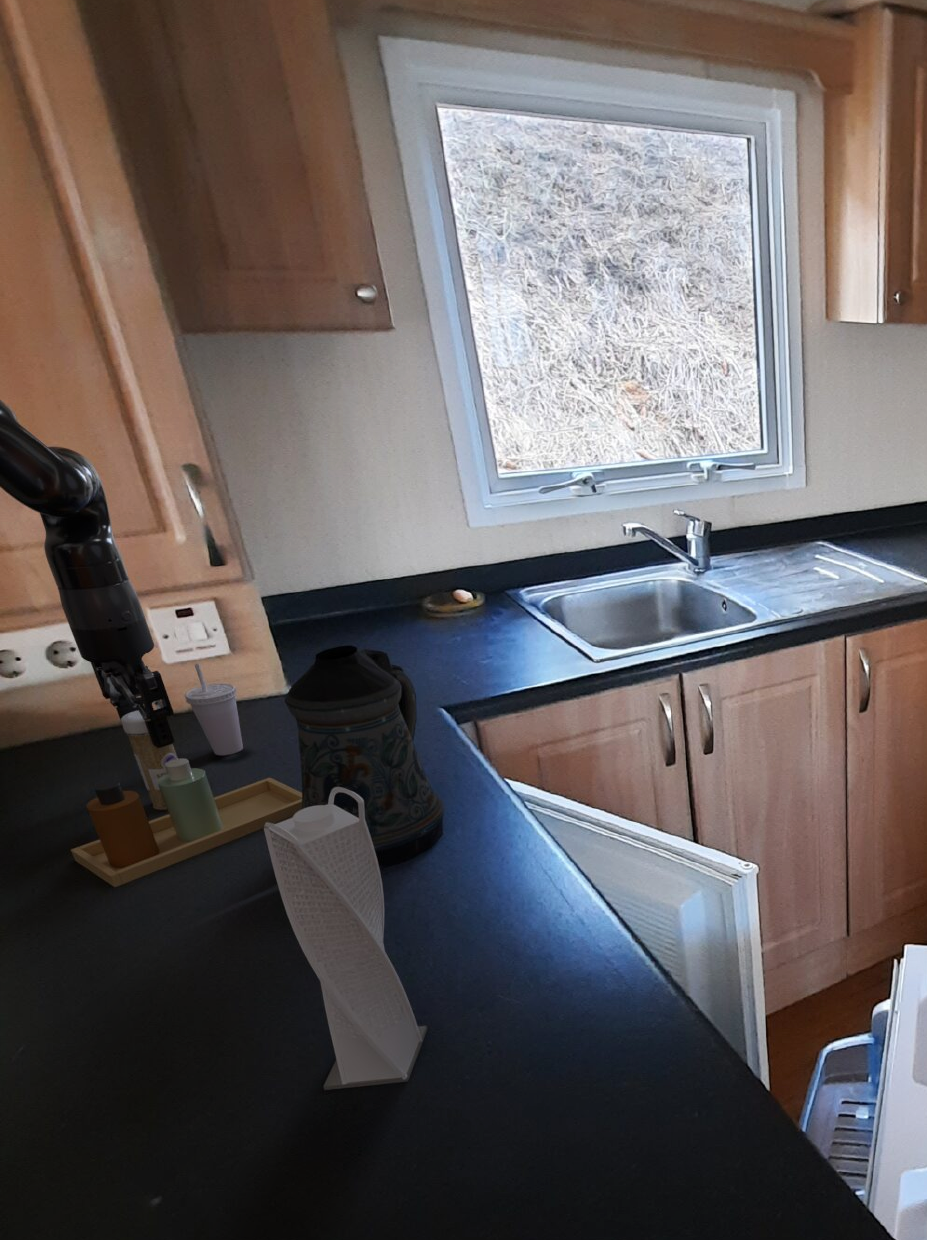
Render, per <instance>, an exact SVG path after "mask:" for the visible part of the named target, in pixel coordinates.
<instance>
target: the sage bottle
mask: <svg viewBox="0 0 927 1240" xmlns="http://www.w3.org/2000/svg"><path fill="white" fill-rule="evenodd" d="M165 767H166V770H167V772H168V774H166V775H164V776H162V777H161V778H159V780H158V785H159V788H160V791H161V794H162V796H163V799H164V802H165V805H166V807H167V809H166V810H167V813H168V814H169V816H170V818H171V821H172V824H173V827H174V829H175V832H176V835H177V838H178V839H179V840H180V841H184V842H192V841H195V840H197V839H200V838H202V837H205V836H207V835H210V834H213V833H215V832H218V831H220V830H223V828H224V826H223V823H222V820H221V817H220V814H219V811H218V808H217V805H216V802H215V799H214V798H215V796H214V794H213V790H212V788H211V784H210V782H209V779H208V776H207V773H206V770H204V769H202V768H197V767H191V765H190V762H189V760H188V758H185V757H184V758H183V757H181V758H178V759H174V760H171V761H169V762H167V763H166V764H165Z"/></svg>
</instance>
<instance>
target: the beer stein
mask: <svg viewBox="0 0 927 1240" xmlns="http://www.w3.org/2000/svg"><path fill="white" fill-rule="evenodd" d="M284 703H285V705H286V706H287V708H288V710H289V712H290V714H291V715H292V716H293V717H294V718H295V720H296V726H297V735H298V749H299V758H300V759H299V760H300V774H301V793H302V809H304V808H307V807H311V806H318V805H327V804H328V800H329V796H330V793H331V790H332V789H333V788H335V787H342V788H345V789H348V790H350V791H353V792H355V793H356V794H358V795H359V796H360V797H361V798H362V799H363V800H364V812H365V821H366V824H367V827H368V830H369V833H370V836H371V839H372V843H373V846H374V850H375V853H376V856H377V861H378V865H379V869H382V868H386V867H390V866H393V865H396V864H400V863H404V862H407V861H409V860H411V859H413V858H415V857H416V856H418V855H420V854H422V853H424V852H426V851H428V850H430V849H432V847H434V845H435V844H436V843H437V842H438V840H439V839H440V838H441V837H442V836H443V834H444V815H445V814H444V813H445V807H444V806H445V805H444V802H443V800H442V799H441V798H440V797H439V795H438V794H437V793H436V791H435V790H434V789H433V787H432V785H431V784H430V781H429V779H428V777H427V775H426V772H425V770H424V766H423V764H422V762H421V758H420V756H419V754H418V750H417V748H416V745H415V742H414V740H415V734H416V727H417V726H416V725H417V708H418V707H417V694H416V690H415V688H414V685H413V682H412V681H411V679H410V677H409V676H408V675H407V674H406V673H405V671H404V669H403V667H402V666H399V665H397V664H391V661H390V657H389V655H388V653H387V652H384V651H380V650H376V649H369V648H363V649H360V650H359V649H358V648H357V646H354V645H338V646H335V647H332V648H327V649H324V650H322V651H320V652H318V653H316V654H315V658H314V663H313V664H312V665H311V666H310V667H309V668H308V669H307V670H306V671H305V673H304V674H302V675H301V676H300V677H299V678H298V680H296V682H294V684H292V686H290V688H289V689H288V692H287V693H286V695H285V697H284ZM333 804H334V805H335V806H337V807H339V808H341V809H343V810H345V811H346V812H348V813H350V814H352V815H354V816H356V817H357V818H359V809H358V802H357V801H356V800H355V799H354V798H353V797H352V796H350V795H348V794H346V793H342V792H338V793H336V794H335V796H334V803H333ZM302 809H301V810H302Z"/></svg>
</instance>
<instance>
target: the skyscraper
mask: <svg viewBox="0 0 927 1240" xmlns="http://www.w3.org/2000/svg"><path fill="white" fill-rule="evenodd" d="M338 792H342V793H346V794H348V795H350V796H352V797H353V798H354V799H355V800H356V801H357V802H358V809H359V818H357V817H356V816H354V815H352V814H350V813H348V812H346V811H345V810H343V809H341V808H339V807H337V806H335V805H334V804H333V803H334V796H335V794H336V793H338ZM263 832H264V836H265V840H266V844H267V848H268V853H269V856H270V861H271V865H272V869H273V872H274V876H275V879H276V883H277V887H278V890H279V894H280V897H281V900H282V904H283V906H284V909H285V912H286V915H287V918H288V920H289V923H290V925H291V928H292V931H293V933H294V935H295V938H296V940H297V942H298V945H299V946H300V948H301V950H302V952H303V954H304V956H305V958H306V959H307V962H308V964H309V965H310V967H311V969H312V970H313V972H314V973H315V975H316V977H317V978H318V980H319V982H320V988H321V993H322V999H323V1005H324V1010H325V1014H326V1019H327V1024H328V1028H329V1035H330V1037H331V1041H332V1046H333V1051H334V1054H335V1061H334V1063H333V1065H332V1067H331V1069H330V1072H329V1073H328V1076H327V1078H326V1080H325V1082H324V1084H323V1090H324V1091H331V1090H339V1089H349V1088H360V1087H368V1086H369V1087H370V1086H378V1085H388V1084H396V1083H397V1084H399V1083H407V1082H409V1080H410V1078H411V1075H412V1072H413V1069H414V1067H415V1064H416V1061H417V1058H418V1056H419V1053H420V1050H421V1049H422V1045H423V1042H424V1040H425V1037H426V1034H427V1031H428V1026H427V1025H418V1023H417V1020H416V1017H415V1014H414V1012H413V1008H412V1006H411V1003H410V1001H409V999H408V995H407V993H406V990H405V988H404V986H403V984H402V981H401V979H400V977H399V975H398V973H397V971H396V968H395V967H394V965H393V963H392V962H391V960H390V958H389V956H388V954H387V952H386V949H385V944H384V936H385V935H384V934H385V896H384V888H383V880H382V875H381V874H382V873H381V870H380V869H381V868H380V869H379V865H378V861H377V856H376V853H375V850H374V846H373V843H372V839H371V836H370V833H369V830H368V827H367V824H366V821H365V812H364V800H363V799H362V798H361V797H360V796H359V795H358V794H356V793H355V792H353V791H350V790H348V789H345V788H342V787H335V788H333V789H332V790H331V793H330V796H329V800H328V804H327V805H318V806H311V807H307V808H304V809H302V810H300V811H298V812H297V813H295V814H294V816H292V817H290V818H287V819H285V820H282V821H280V822H277V823H275V824H272V823H269V822H266V823H265V825H264V828H263Z"/></svg>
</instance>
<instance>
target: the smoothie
mask: <svg viewBox="0 0 927 1240" xmlns="http://www.w3.org/2000/svg"><path fill="white" fill-rule="evenodd" d="M194 667H195V671H196V673H197V677H198V680H199V683H200V685H199V686H197V687H195V688H192V689H190V690H188V691H187V692H186V693H184V698H185V702H186V703H187V704H188V705H190V707H191V709H192V711H193V713H194V715H195V717H196V719H197V721H198V723H199V725H200V727H201V729H202V731H203V733H204V735H205V737H206V739H207V741H208V743H209V745H210V747H211V749H212V751H213V753H214V754H215V755H217V756H228V755H229V756H230V755H233V754H236V753H239V752H241V751H243V749H244V746H243V744H244V743H243V739H242V731H241V726H240V725H241V724H240V718H239V713H238V704H237V699H236V696H237V694H238V691H237V690H236V687H235V685H233V684H231V683H220V682H219V683H210V684H206V681H205V678H204V676H203V672H202V669H201V665H200V663H195V664H194Z"/></svg>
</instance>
